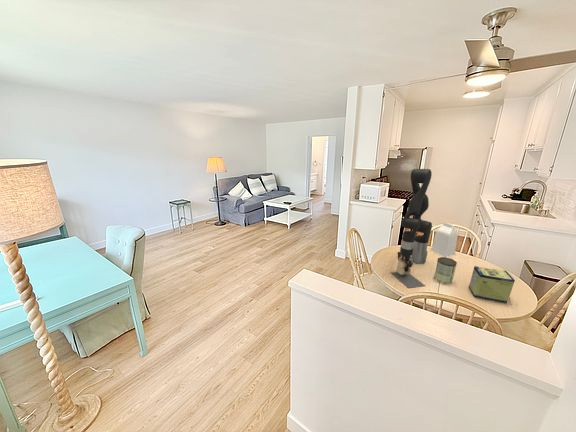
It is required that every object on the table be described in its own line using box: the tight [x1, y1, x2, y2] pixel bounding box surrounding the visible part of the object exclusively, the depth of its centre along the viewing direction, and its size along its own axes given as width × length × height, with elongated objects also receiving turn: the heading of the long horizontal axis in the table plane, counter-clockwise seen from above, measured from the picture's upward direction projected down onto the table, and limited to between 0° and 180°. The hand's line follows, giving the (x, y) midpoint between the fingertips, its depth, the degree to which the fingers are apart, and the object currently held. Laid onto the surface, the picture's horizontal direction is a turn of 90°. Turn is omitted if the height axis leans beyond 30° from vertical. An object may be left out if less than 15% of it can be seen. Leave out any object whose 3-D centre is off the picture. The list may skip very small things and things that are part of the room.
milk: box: [430, 222, 459, 258], centre depth 180 cm, size 12×12×26 cm
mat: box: [391, 271, 426, 289], centre depth 149 cm, size 12×18×1 cm, turn 10°
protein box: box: [468, 265, 516, 304], centre depth 130 cm, size 10×16×16 cm
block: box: [396, 257, 412, 275], centre depth 151 cm, size 7×4×10 cm, turn 101°
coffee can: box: [433, 256, 458, 285], centre depth 146 cm, size 10×10×14 cm
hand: (403, 269), depth 152 cm, fingers closed on block, 4 cm apart
